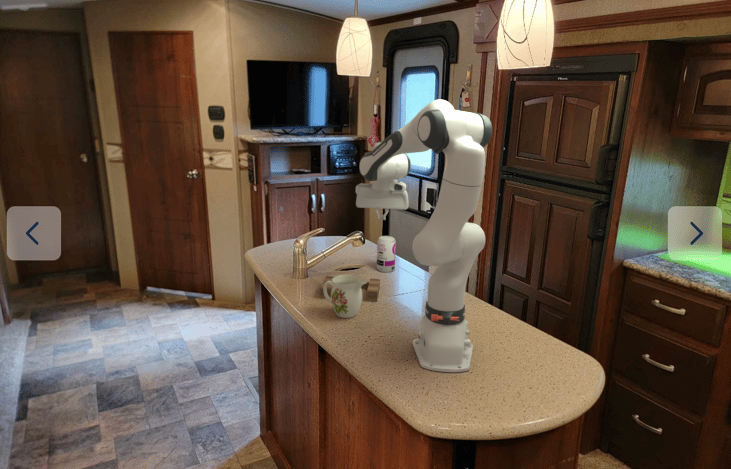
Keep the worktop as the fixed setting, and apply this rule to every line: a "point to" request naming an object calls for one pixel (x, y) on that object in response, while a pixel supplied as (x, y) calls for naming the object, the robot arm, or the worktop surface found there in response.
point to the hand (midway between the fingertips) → (381, 219)
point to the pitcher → (345, 294)
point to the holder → (371, 288)
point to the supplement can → (386, 253)
